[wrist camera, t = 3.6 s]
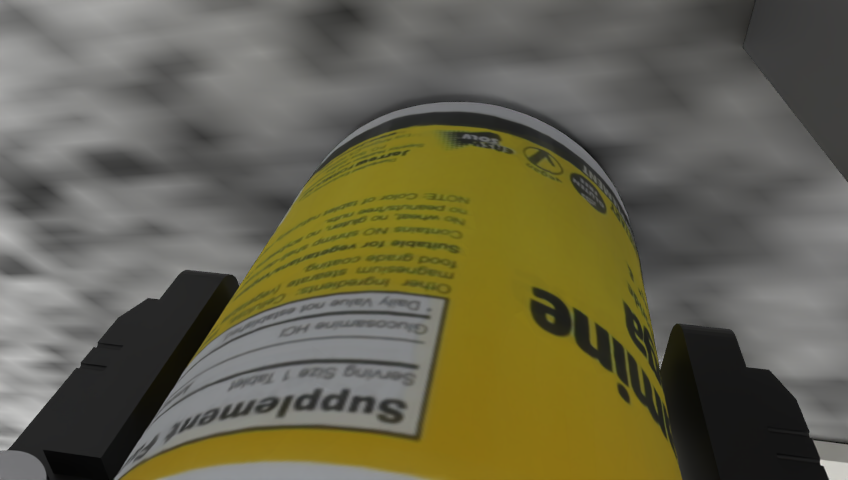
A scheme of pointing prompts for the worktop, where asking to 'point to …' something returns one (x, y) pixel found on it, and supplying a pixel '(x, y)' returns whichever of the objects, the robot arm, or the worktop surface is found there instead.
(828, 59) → the button housing
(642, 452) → the pill bottle
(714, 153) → the worktop surface
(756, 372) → the robot arm
